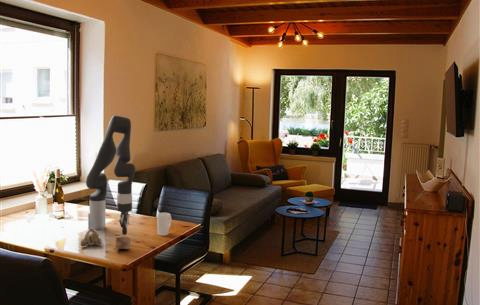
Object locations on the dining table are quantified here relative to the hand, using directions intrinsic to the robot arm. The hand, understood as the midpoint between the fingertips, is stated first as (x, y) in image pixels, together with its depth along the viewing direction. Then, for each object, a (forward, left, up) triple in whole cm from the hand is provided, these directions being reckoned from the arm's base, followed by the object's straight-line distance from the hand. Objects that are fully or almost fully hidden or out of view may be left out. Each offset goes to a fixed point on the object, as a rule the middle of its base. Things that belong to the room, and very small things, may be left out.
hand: (124, 234), depth 236 cm
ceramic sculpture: (-19, +5, -8) cm, 21 cm away
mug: (+17, +29, -8) cm, 34 cm away
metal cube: (0, -1, -1) cm, 2 cm away
